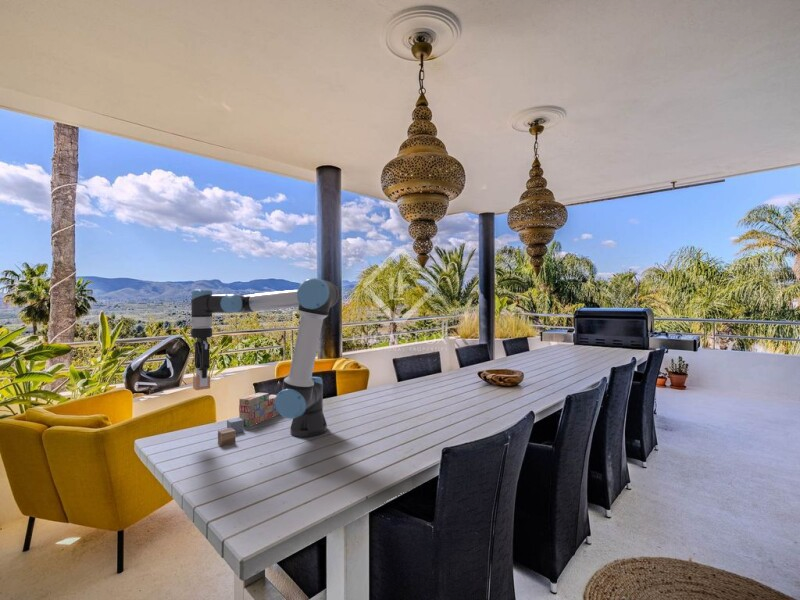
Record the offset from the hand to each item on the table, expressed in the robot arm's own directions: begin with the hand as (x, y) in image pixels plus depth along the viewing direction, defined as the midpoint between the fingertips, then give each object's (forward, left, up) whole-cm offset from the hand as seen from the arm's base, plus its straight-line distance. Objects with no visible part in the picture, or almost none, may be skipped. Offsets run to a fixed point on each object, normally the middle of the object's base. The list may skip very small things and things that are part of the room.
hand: (201, 385), depth 146 cm
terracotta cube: (0, 0, -1) cm, 1 cm away
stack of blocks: (+10, -28, -22) cm, 37 cm away
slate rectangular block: (0, -13, -22) cm, 25 cm away
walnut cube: (-12, -6, -22) cm, 26 cm away
